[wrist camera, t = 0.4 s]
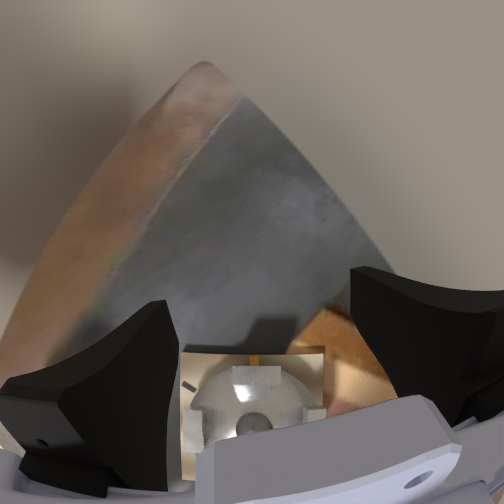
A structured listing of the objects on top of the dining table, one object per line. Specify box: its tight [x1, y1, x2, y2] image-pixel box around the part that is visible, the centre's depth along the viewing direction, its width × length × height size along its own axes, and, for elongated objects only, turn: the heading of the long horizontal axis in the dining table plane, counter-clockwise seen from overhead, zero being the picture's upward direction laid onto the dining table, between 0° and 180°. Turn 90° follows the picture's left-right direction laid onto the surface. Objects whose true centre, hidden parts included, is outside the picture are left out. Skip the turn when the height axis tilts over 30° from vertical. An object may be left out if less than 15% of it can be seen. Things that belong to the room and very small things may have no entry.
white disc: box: [183, 355, 326, 456], centre depth 29 cm, size 16×15×4 cm
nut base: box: [180, 352, 323, 480], centre depth 32 cm, size 17×17×1 cm
